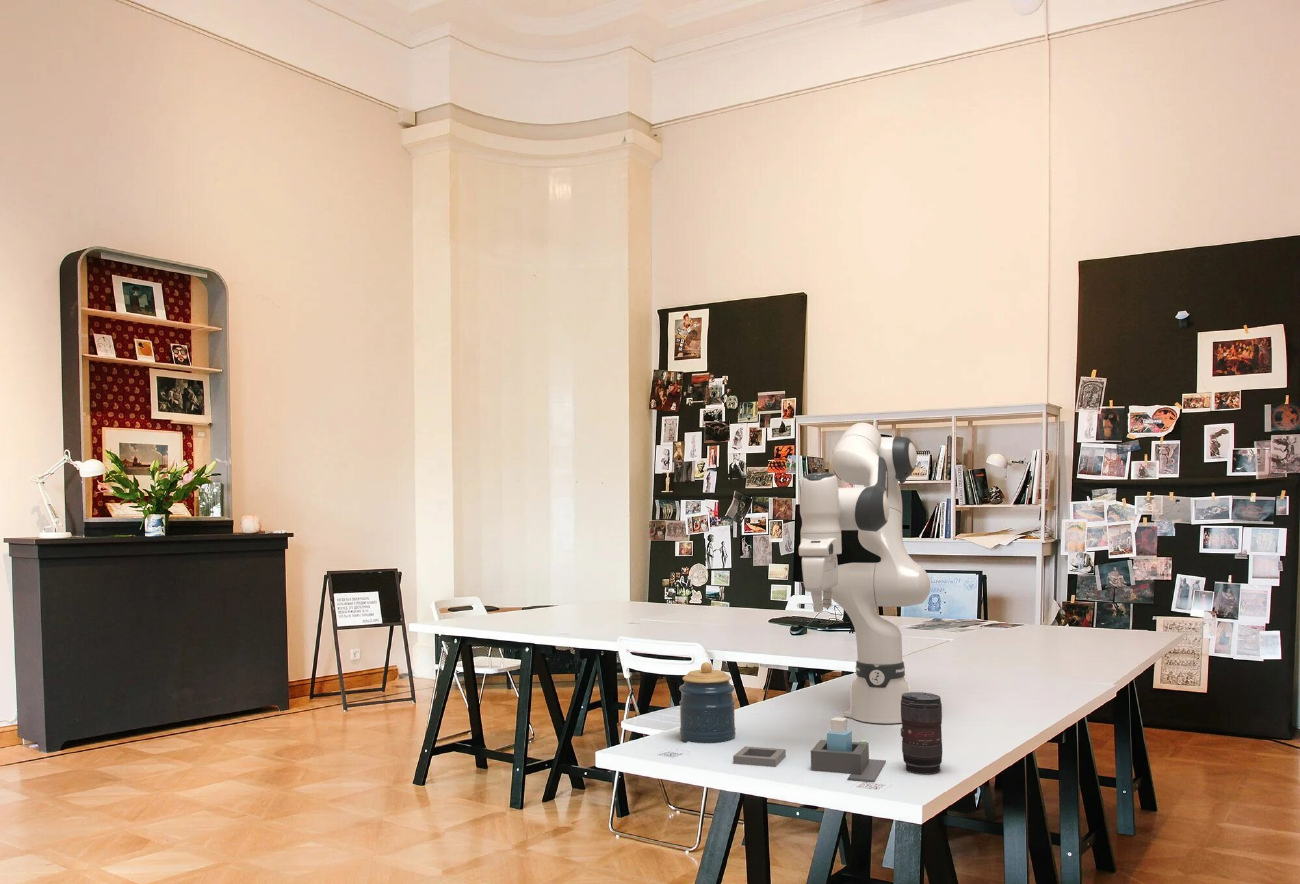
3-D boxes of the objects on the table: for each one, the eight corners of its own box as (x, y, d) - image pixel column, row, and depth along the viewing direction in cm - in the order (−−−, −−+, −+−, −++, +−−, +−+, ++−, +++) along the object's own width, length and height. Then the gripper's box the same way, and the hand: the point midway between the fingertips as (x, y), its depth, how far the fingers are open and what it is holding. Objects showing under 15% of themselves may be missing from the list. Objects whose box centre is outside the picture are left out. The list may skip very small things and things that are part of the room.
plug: (833, 763, 207) (832, 716, 208) (852, 765, 205) (851, 718, 206) (827, 767, 203) (826, 720, 204) (846, 770, 202) (845, 721, 202)
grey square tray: (745, 755, 216) (744, 746, 216) (785, 758, 213) (785, 749, 213) (733, 765, 208) (733, 756, 208) (775, 769, 204) (775, 759, 205)
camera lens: (926, 777, 196) (924, 700, 197) (894, 769, 203) (891, 694, 204) (952, 770, 201) (949, 695, 202) (920, 762, 208) (917, 689, 209)
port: (810, 756, 214) (809, 732, 215) (885, 762, 209) (885, 737, 209) (793, 775, 200) (792, 750, 200) (874, 782, 194) (873, 756, 194)
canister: (747, 738, 233) (745, 661, 234) (712, 748, 223) (710, 668, 224) (703, 730, 241) (702, 656, 243) (668, 740, 232) (667, 663, 233)
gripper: (816, 544, 230) (818, 604, 229) (796, 548, 211) (798, 614, 210) (844, 544, 228) (845, 605, 227) (826, 548, 209) (828, 614, 208)
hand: (822, 609), depth 218 cm, fingers open, 8 cm apart
